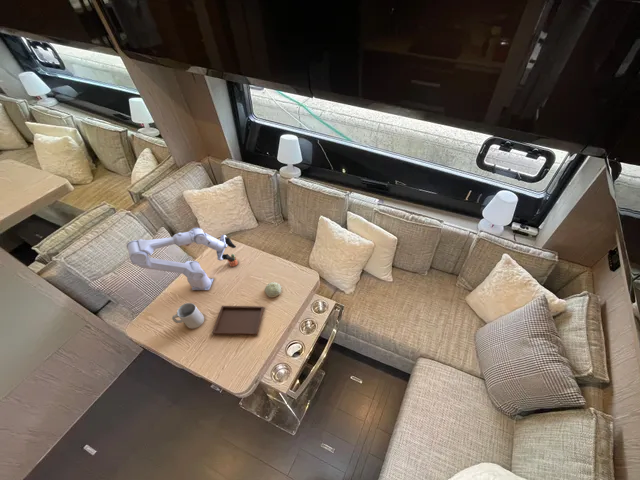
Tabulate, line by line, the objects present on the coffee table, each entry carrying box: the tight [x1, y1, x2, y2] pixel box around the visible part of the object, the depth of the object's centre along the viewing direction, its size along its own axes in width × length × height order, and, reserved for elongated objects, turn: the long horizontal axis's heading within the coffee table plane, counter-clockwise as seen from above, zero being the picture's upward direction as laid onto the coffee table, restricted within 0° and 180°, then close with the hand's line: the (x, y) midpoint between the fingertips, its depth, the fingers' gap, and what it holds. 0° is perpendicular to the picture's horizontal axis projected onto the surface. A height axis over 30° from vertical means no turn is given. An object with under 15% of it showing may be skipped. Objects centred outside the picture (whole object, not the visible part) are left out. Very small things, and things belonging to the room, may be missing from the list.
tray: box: [211, 305, 265, 336], centre depth 141 cm, size 22×16×2 cm
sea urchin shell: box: [264, 281, 283, 298], centre depth 153 cm, size 9×8×8 cm
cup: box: [227, 256, 239, 268], centre depth 165 cm, size 5×5×4 cm
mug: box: [171, 302, 205, 329], centre depth 137 cm, size 12×8×11 cm
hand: (233, 253), depth 154 cm, fingers open, 7 cm apart
